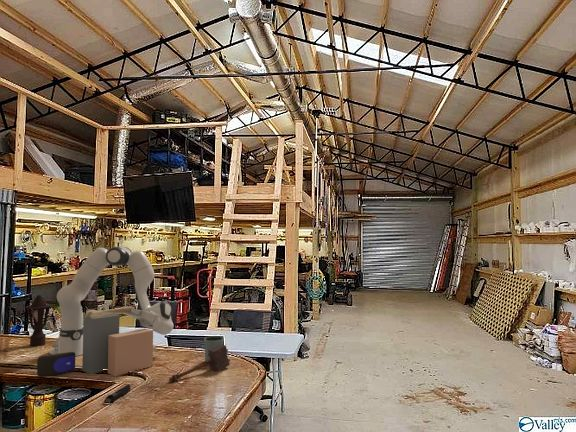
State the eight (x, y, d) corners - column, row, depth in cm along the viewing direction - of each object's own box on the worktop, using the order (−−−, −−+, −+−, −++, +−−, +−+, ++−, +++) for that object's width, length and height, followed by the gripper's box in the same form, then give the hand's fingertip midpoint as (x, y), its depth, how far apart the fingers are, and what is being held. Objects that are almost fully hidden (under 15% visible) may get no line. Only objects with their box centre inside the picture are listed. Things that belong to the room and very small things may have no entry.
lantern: (30, 342, 269) (32, 293, 271) (55, 341, 271) (56, 293, 272) (18, 348, 255) (20, 297, 256) (45, 347, 256) (46, 296, 258)
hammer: (231, 364, 217) (228, 345, 216) (175, 395, 193) (172, 373, 192) (222, 362, 221) (219, 343, 220) (167, 391, 197) (163, 370, 196)
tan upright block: (107, 373, 208) (108, 335, 209) (145, 363, 223) (145, 328, 224) (115, 376, 203) (115, 337, 204) (152, 366, 219) (153, 330, 219)
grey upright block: (82, 370, 212) (83, 317, 213) (109, 364, 223) (110, 313, 224) (90, 374, 206) (92, 319, 207) (118, 367, 217) (119, 315, 218)
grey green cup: (213, 357, 235) (213, 335, 236) (227, 360, 229) (227, 337, 230) (199, 361, 227) (200, 338, 227) (213, 365, 221) (213, 341, 221)
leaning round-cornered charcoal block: (37, 378, 200) (38, 358, 200) (36, 376, 204) (37, 355, 204) (76, 372, 209) (76, 352, 209) (74, 370, 213) (75, 350, 213)
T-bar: (86, 317, 213) (86, 310, 213) (129, 310, 231) (129, 305, 231) (93, 318, 209) (93, 312, 209) (136, 312, 226) (136, 306, 227)
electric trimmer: (132, 391, 184) (133, 384, 184) (111, 405, 169) (111, 396, 169) (124, 391, 185) (125, 383, 185) (103, 404, 170) (103, 396, 170)
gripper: (140, 311, 243) (120, 301, 235) (161, 315, 230) (141, 305, 222) (135, 321, 241) (115, 312, 232) (156, 326, 228) (135, 316, 219)
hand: (128, 308), depth 227 cm, fingers open, 4 cm apart
